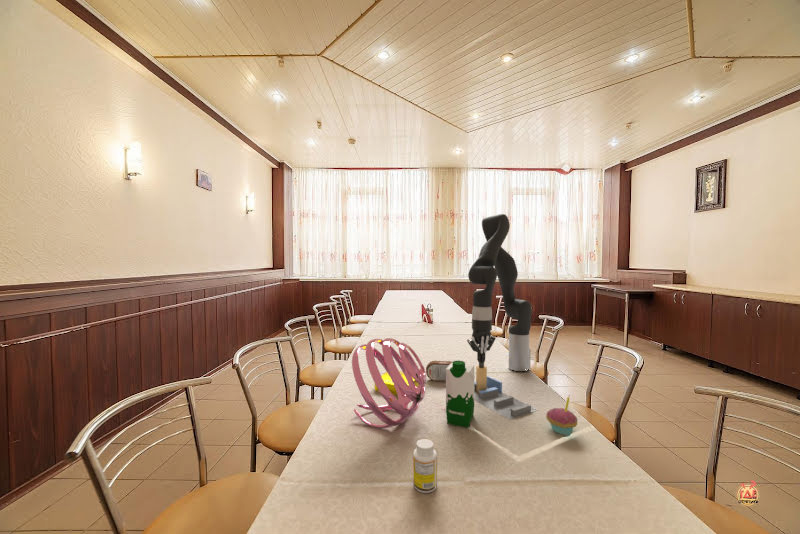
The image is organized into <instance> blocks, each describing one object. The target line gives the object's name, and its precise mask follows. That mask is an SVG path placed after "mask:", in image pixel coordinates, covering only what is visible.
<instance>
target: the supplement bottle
mask: <svg viewBox="0 0 800 534" xmlns="http://www.w3.org/2000/svg"><path fill="white" fill-rule="evenodd" d="M412 457H413V459H412V461H413V462H412V464H413V465H412V466H413V468H412V469H413V470H412V471H413V473H412V475H413V486H414V488H415V490H416V491H417V492H419V493H423V494H428V493H431V492H434V491H435V490H436V488H437V486H438V454H437V450H436V449H435V447H434V442H433V441H432V440H430V439H427V438H422V439H419V440H417V442H416V446H415V449H414V450H413V454H412Z"/></svg>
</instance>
